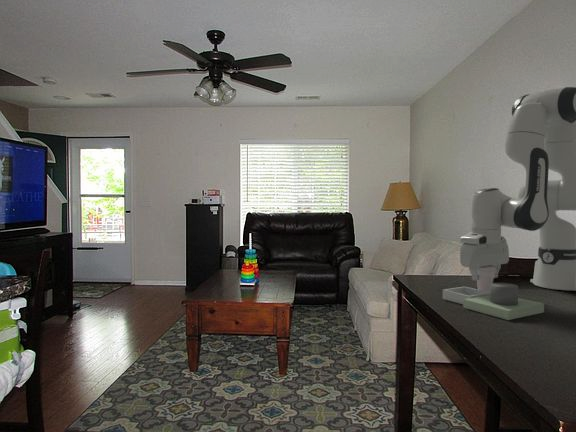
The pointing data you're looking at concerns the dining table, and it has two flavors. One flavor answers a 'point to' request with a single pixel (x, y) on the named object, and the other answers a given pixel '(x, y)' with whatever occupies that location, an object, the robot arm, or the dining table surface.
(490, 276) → the smoothie
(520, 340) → the dining table surface
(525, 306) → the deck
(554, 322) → the dining table surface
